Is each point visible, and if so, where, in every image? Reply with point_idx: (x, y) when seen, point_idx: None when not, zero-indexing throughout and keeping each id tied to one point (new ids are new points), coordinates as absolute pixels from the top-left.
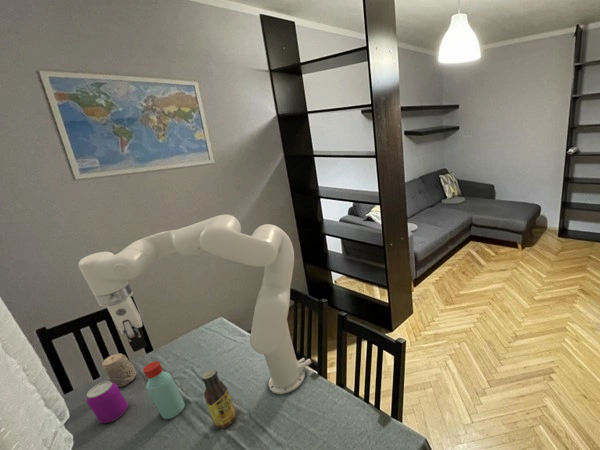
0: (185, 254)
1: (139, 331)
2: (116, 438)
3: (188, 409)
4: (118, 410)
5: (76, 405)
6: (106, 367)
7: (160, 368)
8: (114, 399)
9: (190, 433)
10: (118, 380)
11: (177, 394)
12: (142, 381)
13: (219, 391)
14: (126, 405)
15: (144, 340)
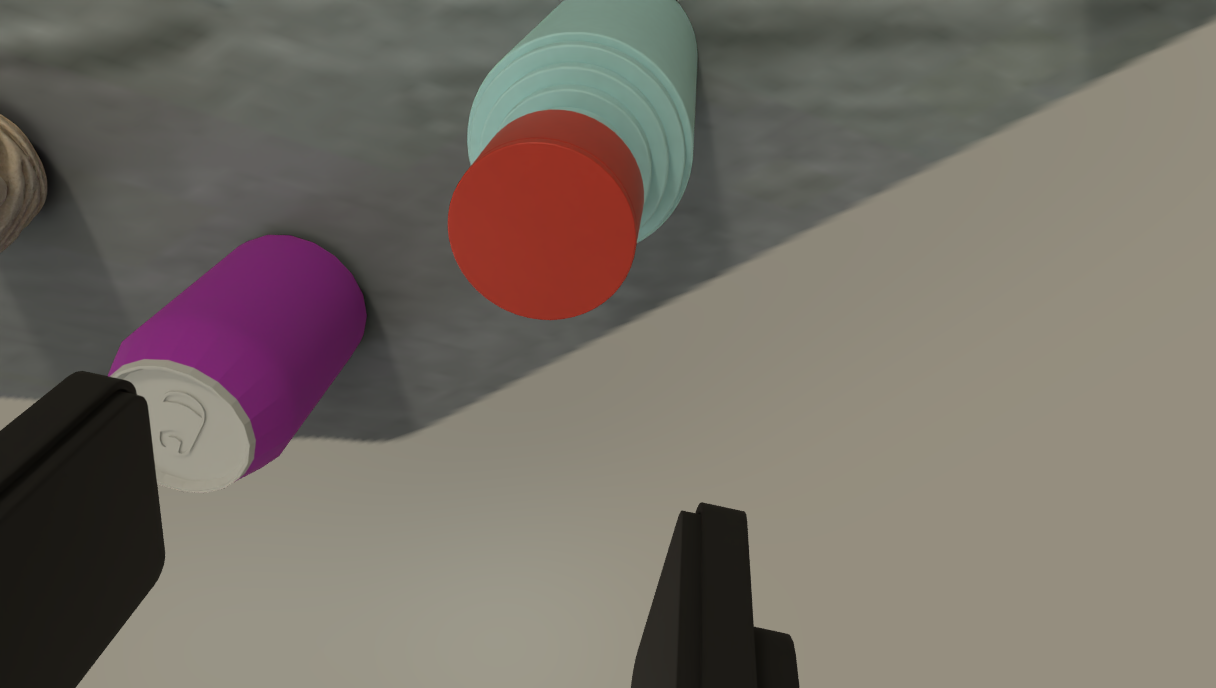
0: None
1: (39, 528)
2: (524, 346)
3: None
4: (342, 306)
5: (36, 391)
6: None
7: (608, 146)
8: (296, 343)
9: (963, 73)
10: (9, 226)
11: (669, 24)
12: (86, 88)
13: None
14: (309, 251)
15: (702, 619)
